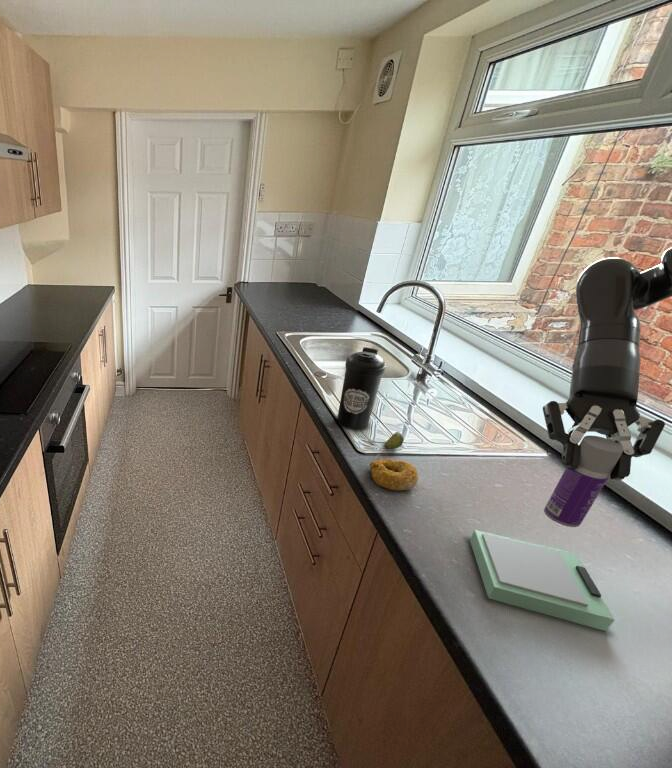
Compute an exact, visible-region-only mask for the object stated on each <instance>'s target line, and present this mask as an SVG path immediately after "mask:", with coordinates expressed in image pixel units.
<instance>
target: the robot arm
mask: <svg viewBox="0 0 672 768" xmlns="http://www.w3.org/2000/svg"><path fill="white" fill-rule="evenodd" d="M660 260H661V263H660V264H658V265H655V266H653V267H652V268H651V267H650V268H649V269H646V270H644V271H640V270H639V269H638V268H637V266H636V265H634V263H632V262H631V261H629V260H627V259H624V258H622V257H621V258H620V257H607V258H601V259H599V260H596V261H594V262H593V263H591V264H589V265H588V266H587V267H586V268H585V269H584V270H583V271H582V272H581V273H580V275H579V277H578V279H577V281H576V285H575V286H576V288H575V296H576V305H577V312H578V313H577V314H578V318H579V323H580V324H579V329H578V330H579V331H578V336H577V337H578V338H577V347H576V351H575V354H574V357H573V362H572V365H571V377H570V387H569V392H568V393H569V395H568V399H567V401H566V402H557V401H556V400H550V401H549V402H548V403H546V404H544V405H543V406H542V412H543V416H544V421H545V425H546V430H547V435H548V438H549V439H550V440H552V441H557V442H558V443H560V444H562V452H561V453H562V454H561V464H562V465H564V466H565V469H569V470H574V469H577V468H578V464H579V455H580V446H581V445H580V443H581V441H582V439H583V438H584V437H585V436H584V435H585V434H586V433H593V432H594V433H597V434H599V435H604V436H605V438H606V439H609V440H612V441H614V442H616V443H618V444H619V445H621V446H622V447H623V449H624V450H623V452H622V454H621V456H620V458H619V460H618V461H617V463H616V465H615V467H614V469H613V471H612V472H611V474H610V476H609V478H610V480H613V481H617V482H618V481H623V480H624V479H625V478H628V477H629V476H630V475H631V466H632V458H640V457H642V456H646V455H650V454H651V453H652V451H653V449H654V448H655V446H656V445H657V441H658V440H659V438H660V435H661V433H662V432H663V430H664V428H665V426H666V423H665V421H664V420H662V419H655V420H653V419H650V418H647V417H644V416H642V415H641V413H640V412H639V411H638V408H637V405H638V399H639V388H640V387H639V385H640V375H641V374H640V373H641V354H640V353H641V352H640V343H641V331H642V330H641V329H642V326H641V321H640V318H639V316H638V315H637V313H636V311H638V310H641V309H644V308H647V307H650V306H651V305H654V304H658V303H659V302H662V301H664V300H667V299H669V298H671V297H672V246H671V247H670V248H668V249H666V250H665V251H664V252H663V253H662V255H661V259H660ZM565 412H566V413H567V414H568V416H569V417H570V418H571V420H572V421H573V422H572V424H571V426H570V427H569V429H568V431H567V432H566V429H565V426H564V421H563V417H562V416H563V415H564V414H565ZM633 424H635V425H636V430H637V432H638V435H637V437H636V439H635V441H634V443H632V441H631V439H632V435H631V431H630V429H629V427H630V426H631V425H633Z"/></svg>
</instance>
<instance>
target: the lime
mask: <svg viewBox="0 0 672 768" xmlns="http://www.w3.org/2000/svg"><path fill="white" fill-rule="evenodd" d="M404 440H405V439H404V436H403V434H402V433H401V432H400V431H396V432H394V433H393V434H392V435H391V436H390V437H389V438H388V440H386V442H385V443H384V446H385V447H386V448H389V449H394V450H395V449H399V448H400V447H401V446H403V443H404Z"/></svg>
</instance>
